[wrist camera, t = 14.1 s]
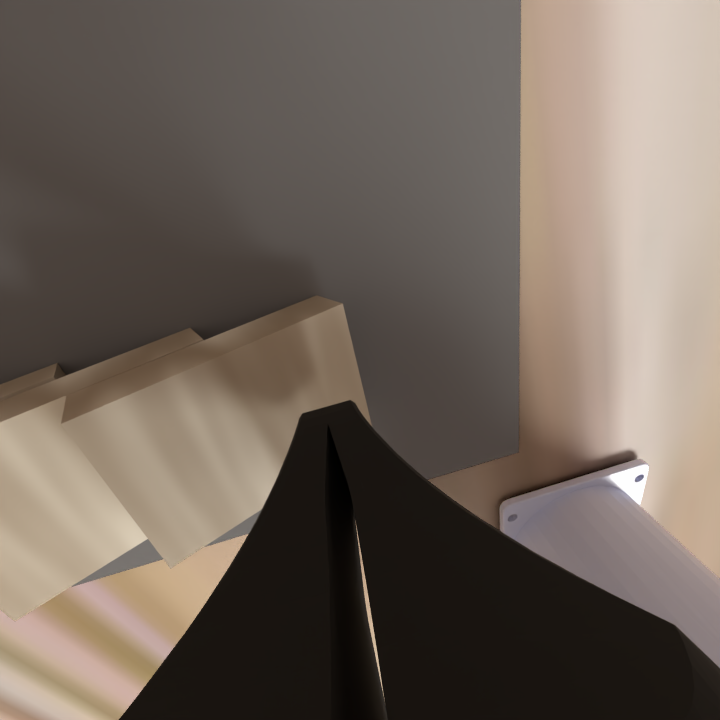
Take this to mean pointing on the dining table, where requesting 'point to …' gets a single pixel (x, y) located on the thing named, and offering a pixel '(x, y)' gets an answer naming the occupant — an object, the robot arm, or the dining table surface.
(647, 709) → the robot arm
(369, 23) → the rubber mat
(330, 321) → the domino
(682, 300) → the dining table surface
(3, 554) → the domino
